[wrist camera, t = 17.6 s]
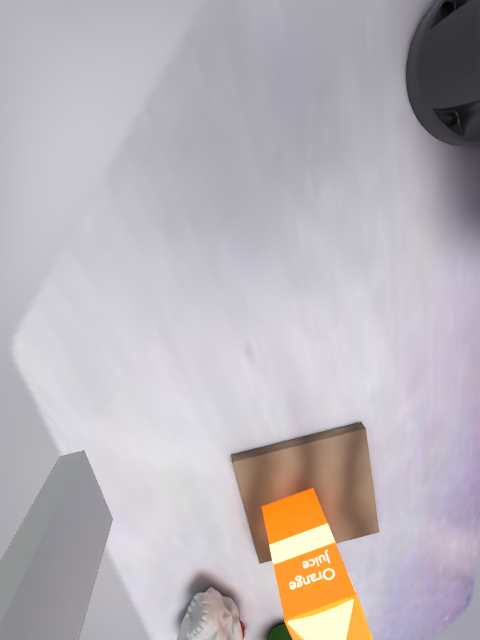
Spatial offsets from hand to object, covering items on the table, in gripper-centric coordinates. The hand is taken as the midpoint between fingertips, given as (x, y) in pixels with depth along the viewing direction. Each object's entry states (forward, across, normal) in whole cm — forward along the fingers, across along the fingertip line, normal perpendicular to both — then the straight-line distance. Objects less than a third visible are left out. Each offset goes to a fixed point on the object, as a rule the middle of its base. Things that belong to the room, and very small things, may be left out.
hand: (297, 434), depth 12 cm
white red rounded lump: (+32, -14, -51) cm, 62 cm away
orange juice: (+30, +2, -36) cm, 47 cm away
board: (+32, +4, -33) cm, 46 cm away
